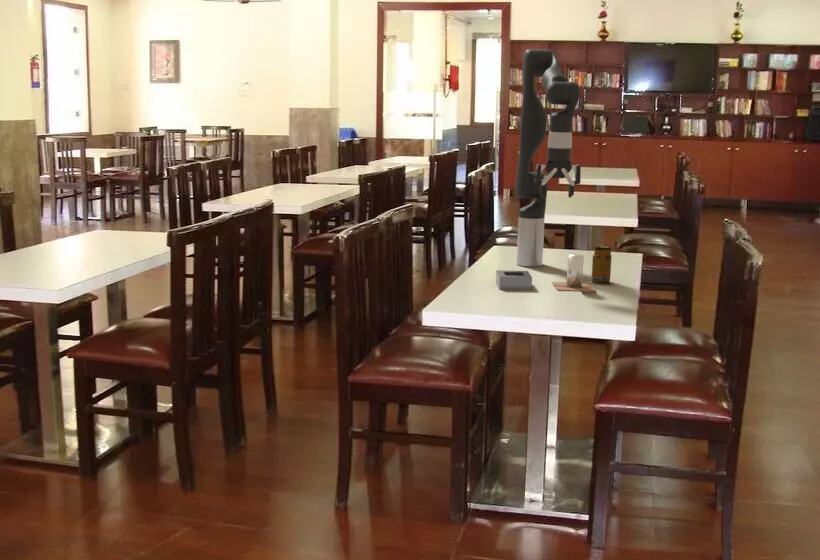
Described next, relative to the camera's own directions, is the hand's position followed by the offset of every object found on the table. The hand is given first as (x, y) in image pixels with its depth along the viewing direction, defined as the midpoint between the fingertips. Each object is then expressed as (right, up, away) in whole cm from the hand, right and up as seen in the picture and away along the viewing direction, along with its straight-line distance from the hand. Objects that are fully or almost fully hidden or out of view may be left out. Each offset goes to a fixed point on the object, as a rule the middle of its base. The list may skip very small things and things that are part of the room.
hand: (556, 197), depth 295 cm
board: (+5, -30, -4) cm, 30 cm away
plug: (+5, -29, -4) cm, 29 cm away
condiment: (+16, -28, +8) cm, 33 cm away
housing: (-14, -30, -5) cm, 33 cm away
